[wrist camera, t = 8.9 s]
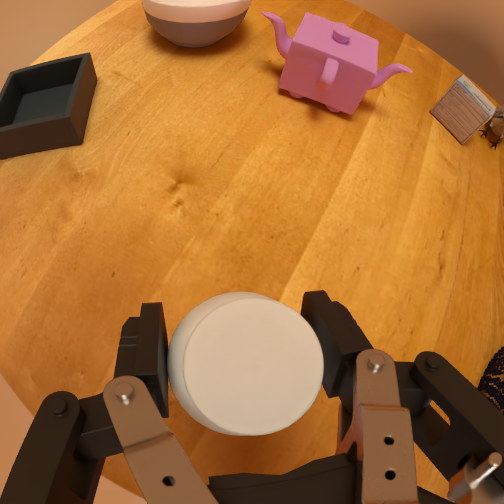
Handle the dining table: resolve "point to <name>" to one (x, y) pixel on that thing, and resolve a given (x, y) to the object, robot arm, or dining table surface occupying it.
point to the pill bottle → (245, 364)
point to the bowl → (195, 19)
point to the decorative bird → (496, 124)
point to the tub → (46, 105)
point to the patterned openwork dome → (494, 380)
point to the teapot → (329, 62)
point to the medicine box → (463, 109)
